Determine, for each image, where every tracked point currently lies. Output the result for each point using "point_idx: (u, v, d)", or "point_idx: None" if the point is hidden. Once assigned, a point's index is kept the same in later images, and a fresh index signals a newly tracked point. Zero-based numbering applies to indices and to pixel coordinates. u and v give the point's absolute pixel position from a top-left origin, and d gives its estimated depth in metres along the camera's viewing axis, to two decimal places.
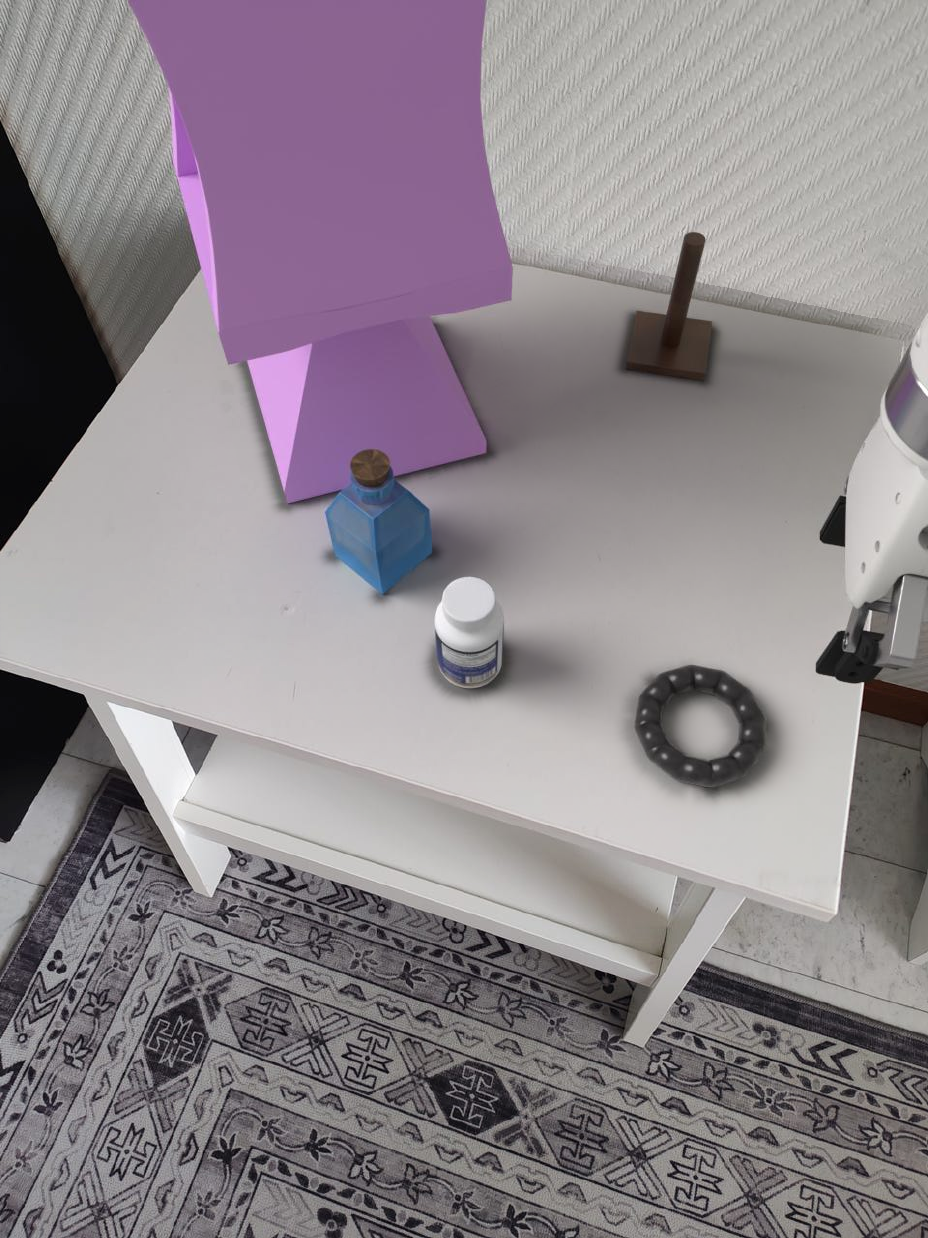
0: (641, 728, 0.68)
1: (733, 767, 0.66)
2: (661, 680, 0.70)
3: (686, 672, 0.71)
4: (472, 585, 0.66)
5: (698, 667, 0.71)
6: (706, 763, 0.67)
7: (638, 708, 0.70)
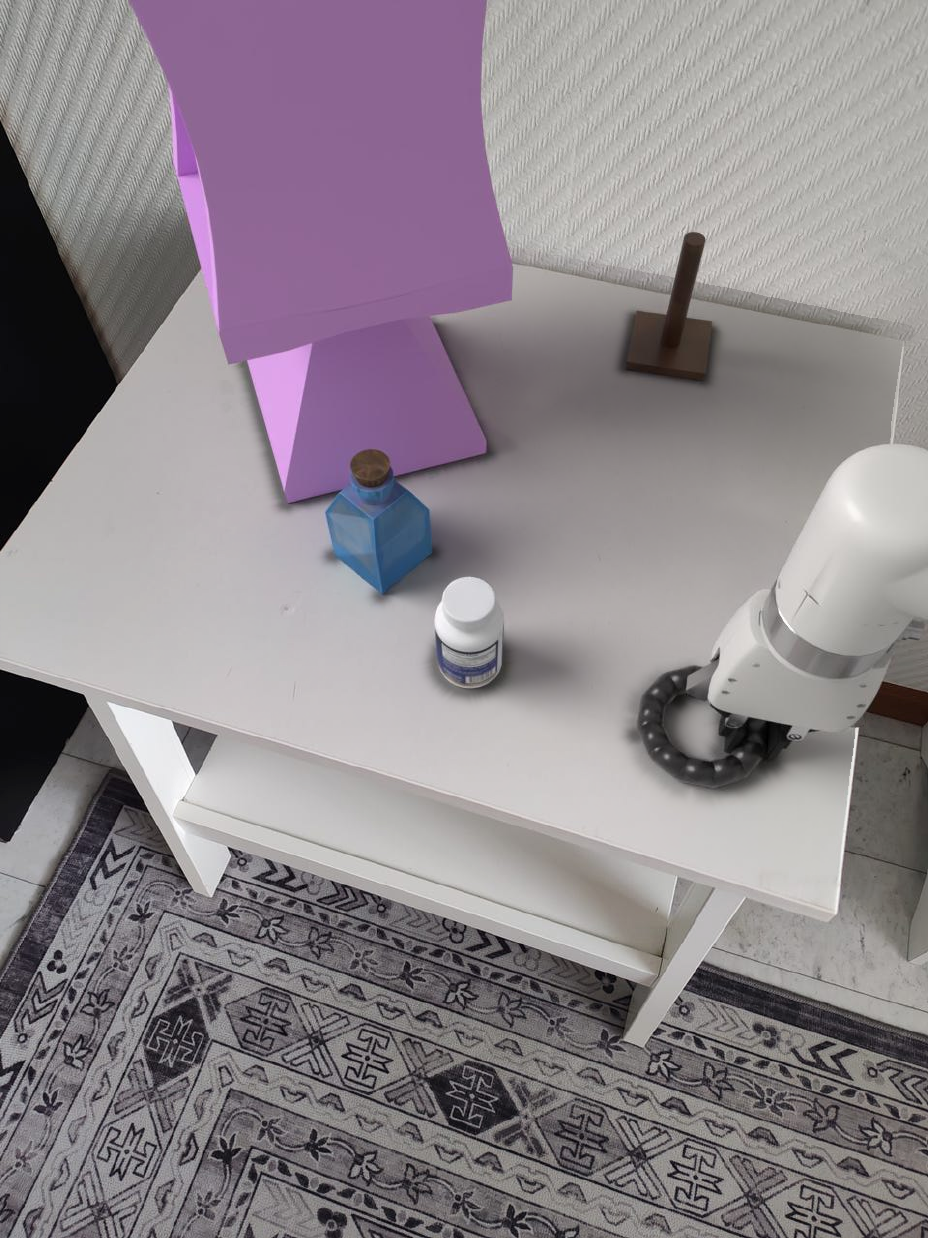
0: (643, 728, 0.68)
1: (735, 768, 0.66)
2: (663, 680, 0.70)
3: (688, 672, 0.71)
4: (472, 585, 0.66)
5: (700, 668, 0.71)
6: (708, 763, 0.67)
7: (640, 709, 0.70)
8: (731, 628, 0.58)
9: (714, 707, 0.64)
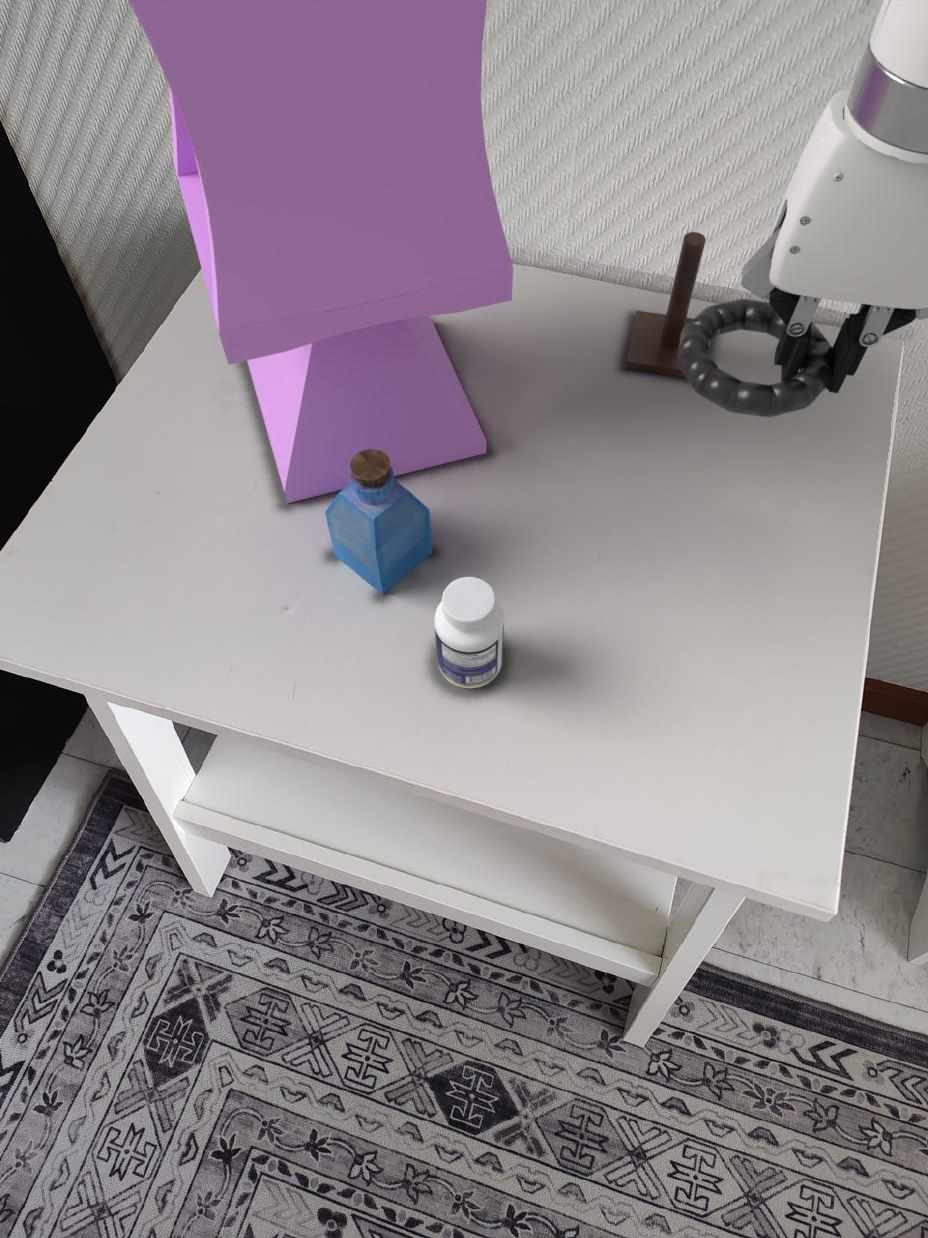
0: (686, 356, 0.58)
1: (797, 388, 0.56)
2: (707, 311, 0.60)
3: (736, 303, 0.60)
4: (472, 585, 0.66)
5: (750, 300, 0.61)
6: (765, 385, 0.56)
7: (681, 340, 0.59)
8: (803, 155, 0.48)
9: (775, 302, 0.54)
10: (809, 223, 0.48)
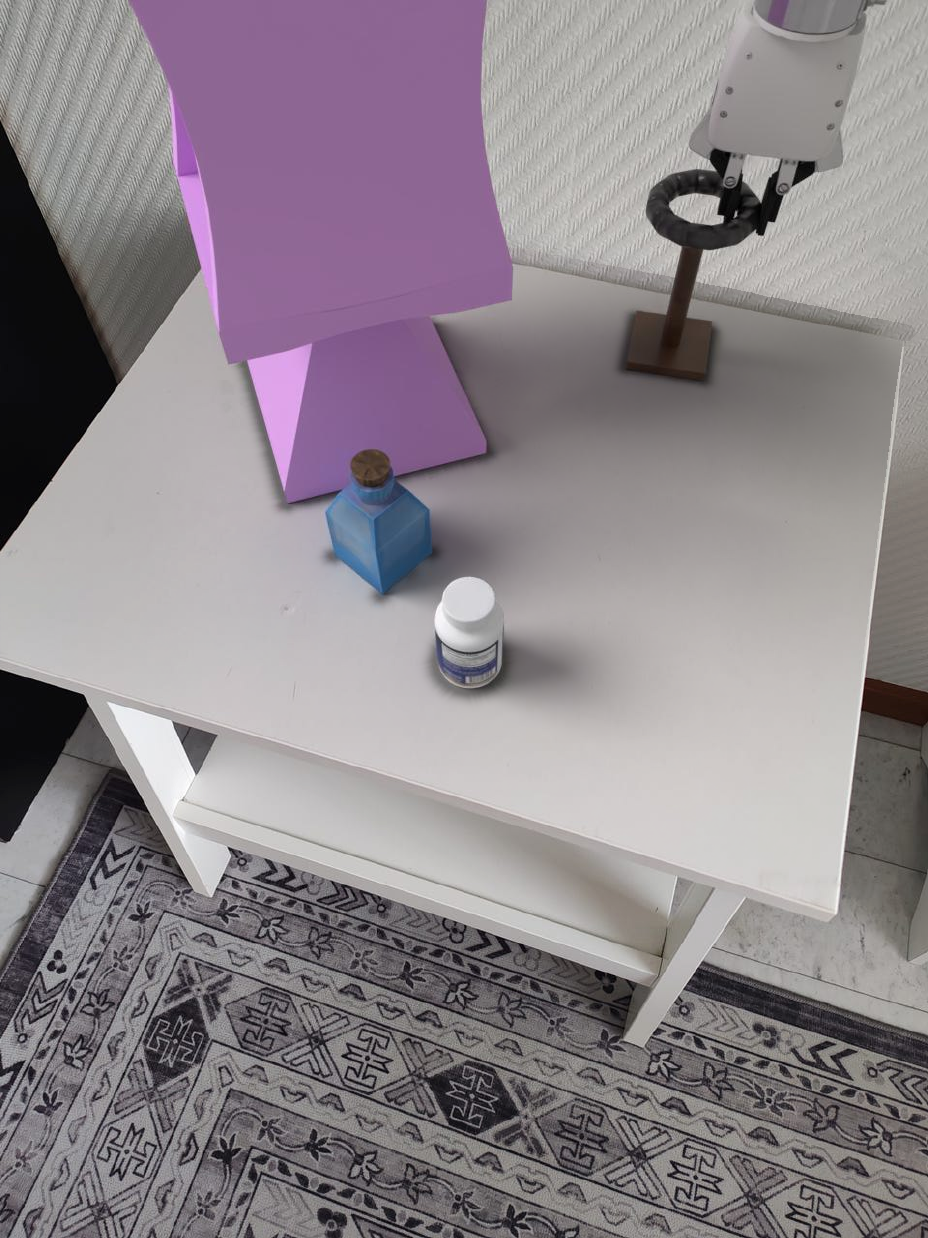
0: (651, 206, 0.78)
1: (731, 226, 0.76)
2: (668, 176, 0.80)
3: (690, 171, 0.80)
4: (472, 585, 0.66)
5: (701, 170, 0.81)
6: None
7: (648, 197, 0.79)
8: (728, 44, 0.68)
9: (713, 160, 0.74)
10: (731, 92, 0.68)
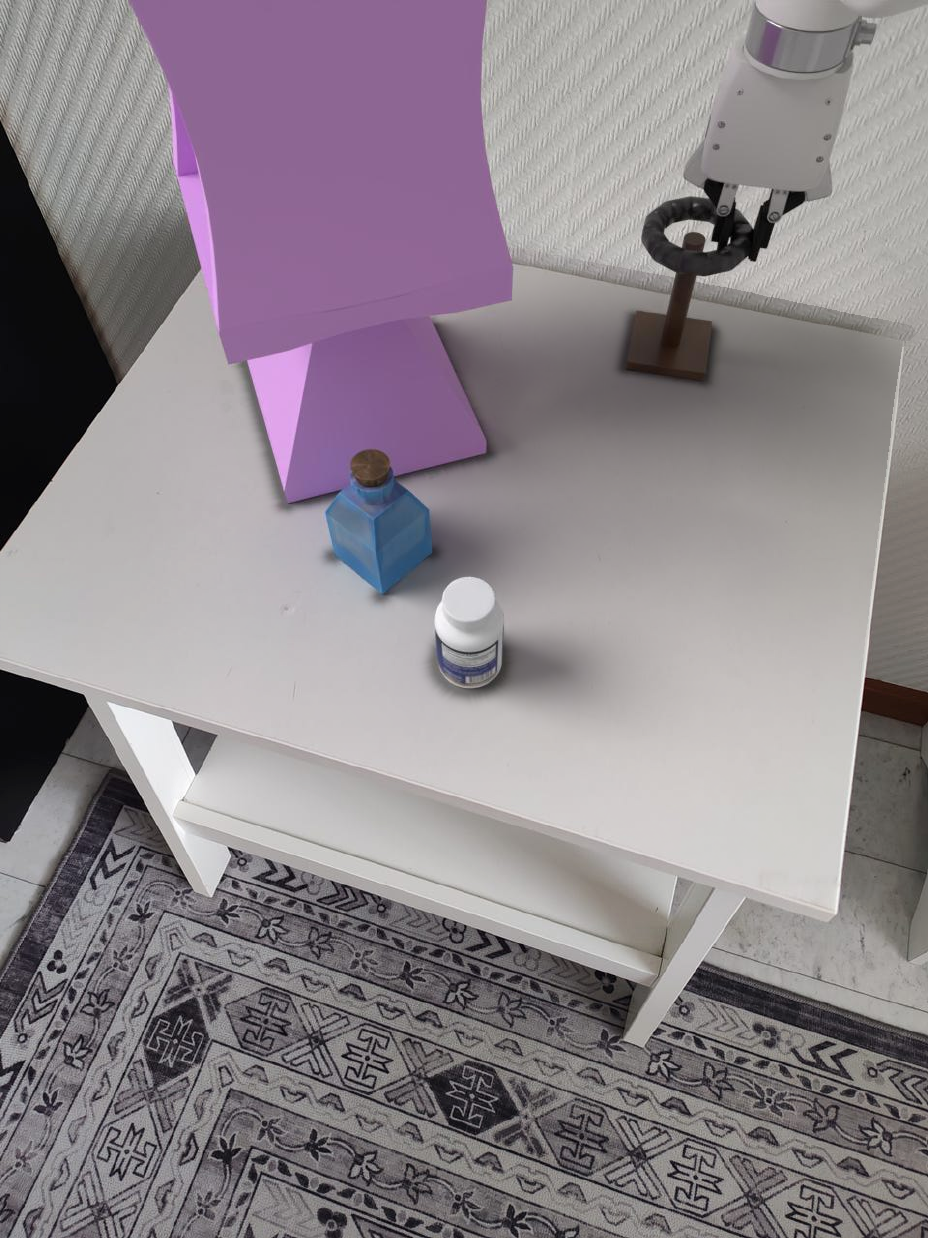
0: (646, 234, 0.81)
1: (724, 253, 0.78)
2: (663, 204, 0.82)
3: (685, 198, 0.83)
4: (472, 585, 0.66)
5: (695, 197, 0.83)
6: None
7: (644, 224, 0.82)
8: (720, 79, 0.70)
9: (707, 189, 0.76)
10: (724, 126, 0.71)
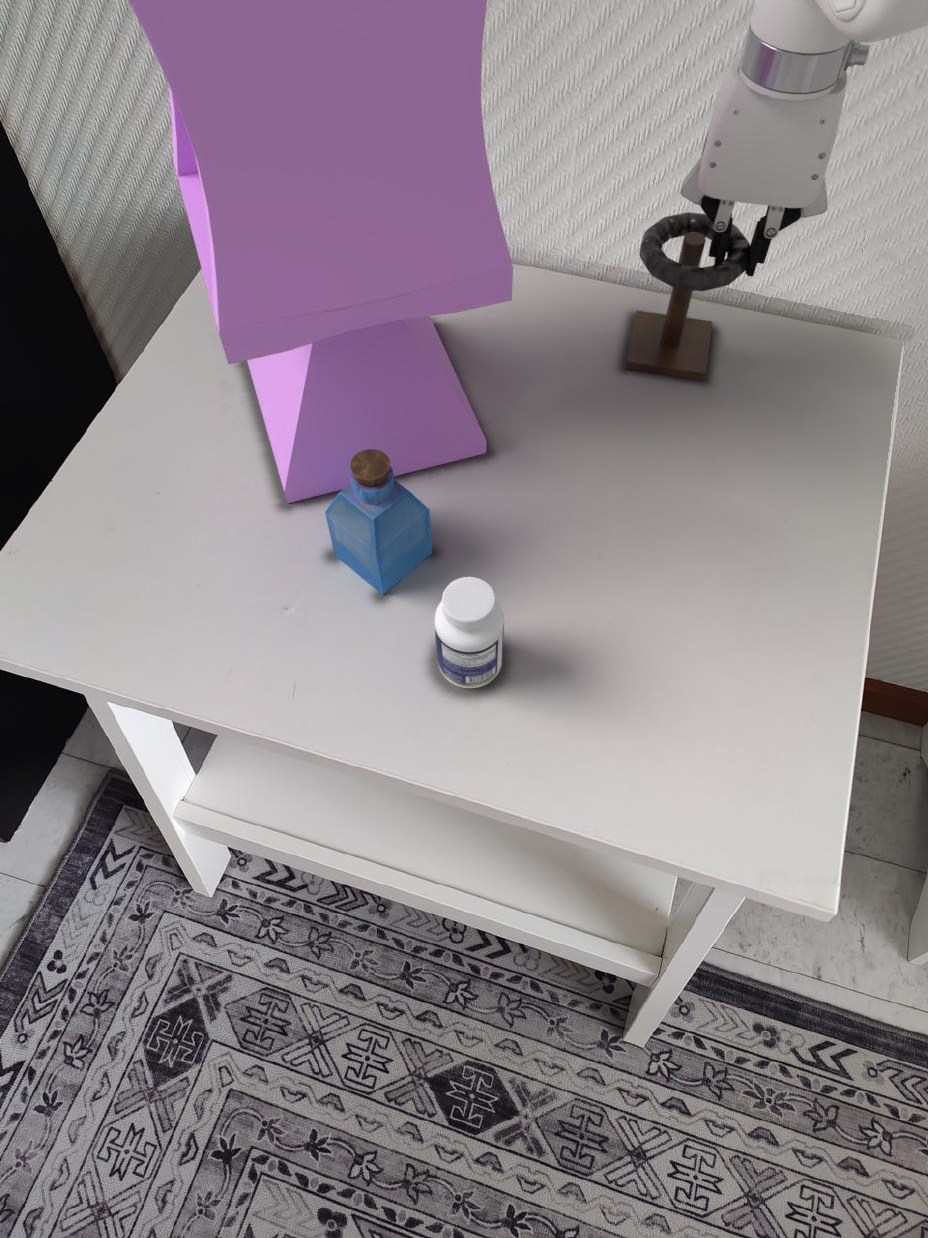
0: (645, 249, 0.82)
1: (721, 269, 0.80)
2: (661, 220, 0.84)
3: (682, 214, 0.84)
4: (472, 585, 0.66)
5: (693, 213, 0.84)
6: (699, 267, 0.80)
7: (642, 240, 0.83)
8: None
9: (704, 206, 0.78)
10: (720, 145, 0.72)
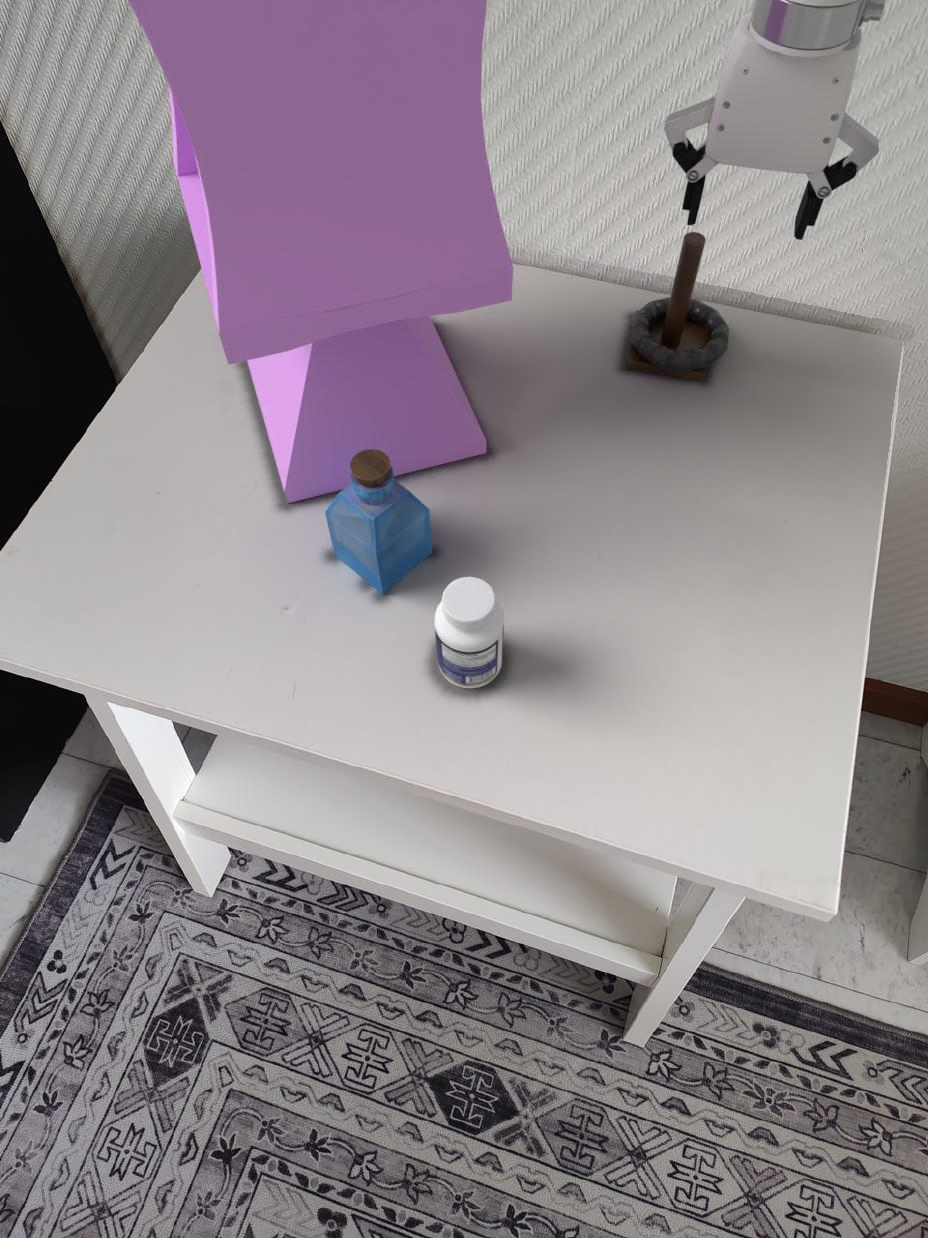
0: (634, 333, 0.90)
1: (703, 352, 0.88)
2: (649, 304, 0.92)
3: (668, 299, 0.92)
4: (472, 585, 0.66)
5: None
6: (683, 351, 0.88)
7: (631, 323, 0.91)
8: (725, 58, 0.69)
9: (676, 154, 0.75)
10: (729, 106, 0.69)
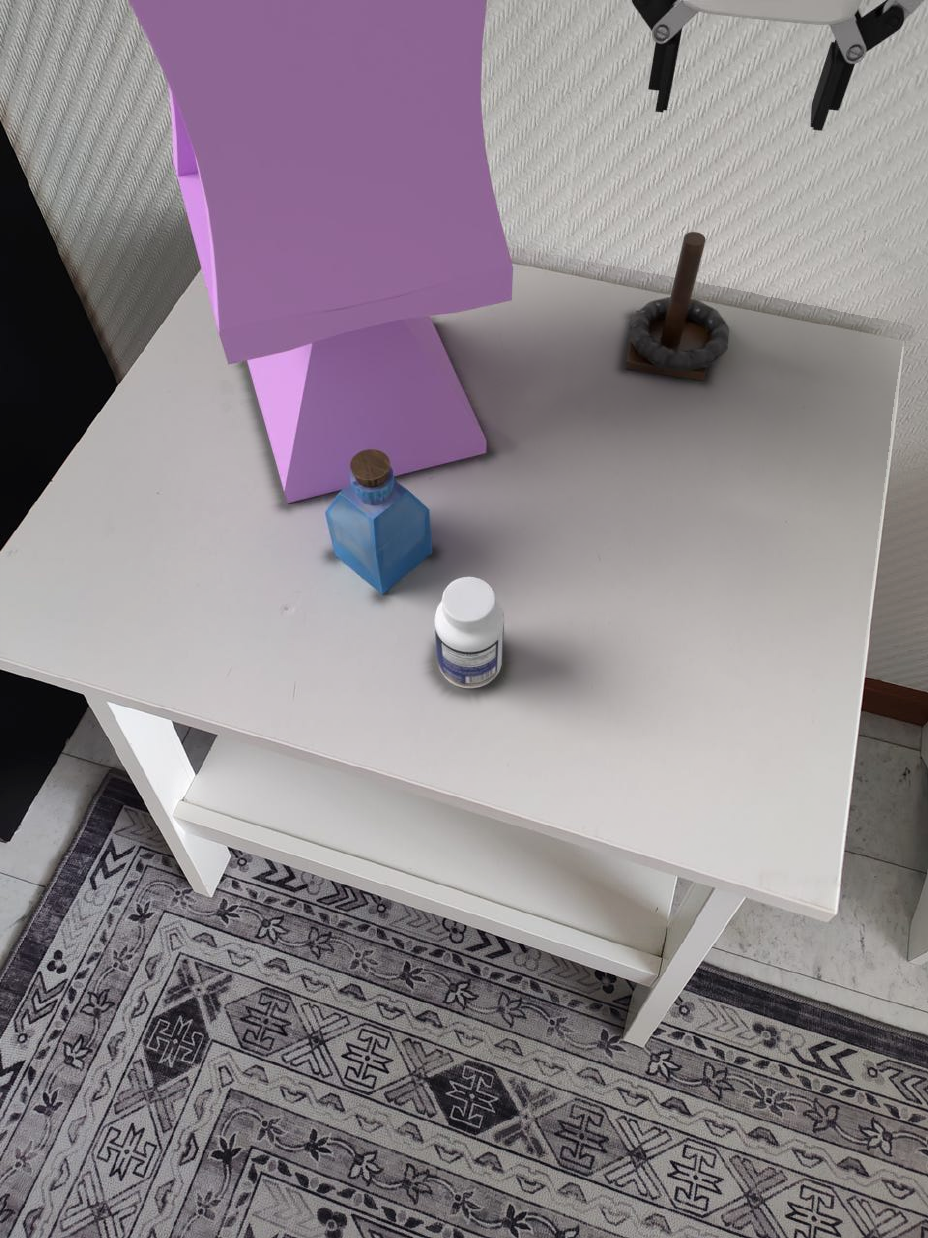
0: (634, 333, 0.90)
1: (703, 352, 0.88)
2: (649, 304, 0.92)
3: (668, 299, 0.92)
4: (472, 585, 0.66)
5: None
6: (683, 351, 0.88)
7: (631, 323, 0.91)
8: None
9: None
10: None
